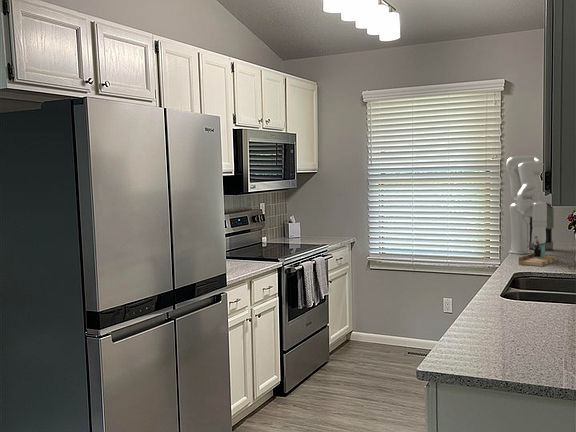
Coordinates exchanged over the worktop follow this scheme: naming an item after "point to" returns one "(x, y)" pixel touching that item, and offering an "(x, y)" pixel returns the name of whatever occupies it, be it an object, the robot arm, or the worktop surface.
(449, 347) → the worktop surface
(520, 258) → the board
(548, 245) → the device
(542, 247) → the teal upright block
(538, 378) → the worktop surface
